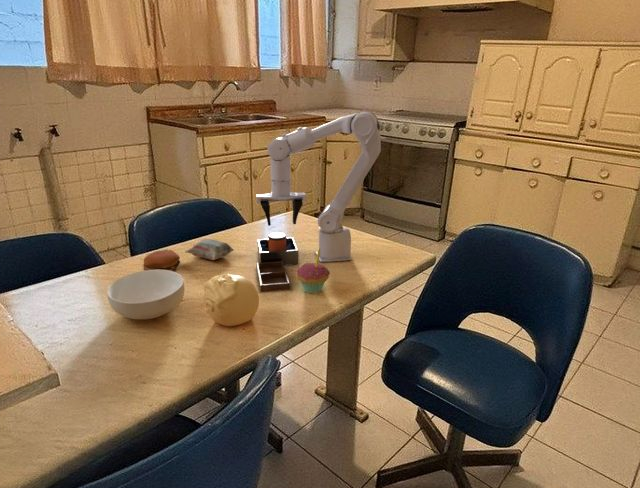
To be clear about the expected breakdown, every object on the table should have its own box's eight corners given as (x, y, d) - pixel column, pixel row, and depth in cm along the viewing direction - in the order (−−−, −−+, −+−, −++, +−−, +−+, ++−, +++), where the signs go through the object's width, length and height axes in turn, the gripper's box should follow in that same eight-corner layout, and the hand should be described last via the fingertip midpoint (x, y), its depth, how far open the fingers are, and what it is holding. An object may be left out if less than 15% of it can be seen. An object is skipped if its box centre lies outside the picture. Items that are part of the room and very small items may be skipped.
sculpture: (199, 314, 106) (195, 272, 102) (248, 302, 111) (246, 261, 107) (215, 337, 97) (211, 292, 92) (267, 323, 102) (265, 280, 98)
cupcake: (334, 286, 120) (335, 243, 116) (320, 299, 113) (320, 255, 108) (305, 280, 123) (305, 238, 119) (290, 292, 116) (289, 249, 112)
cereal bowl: (111, 301, 111) (106, 275, 108) (182, 290, 117) (179, 265, 114) (111, 336, 96) (105, 307, 94) (191, 321, 102) (188, 293, 100)
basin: (293, 250, 143) (292, 237, 141) (298, 264, 133) (298, 250, 131) (258, 253, 141) (257, 239, 139) (260, 267, 131) (260, 252, 129)
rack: (282, 267, 131) (282, 261, 130) (289, 289, 118) (289, 283, 117) (256, 269, 130) (256, 263, 129) (260, 292, 116) (260, 285, 116)
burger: (141, 276, 124) (138, 260, 122) (148, 263, 133) (146, 248, 131) (178, 274, 126) (176, 259, 124) (183, 261, 134) (181, 246, 132)
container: (285, 253, 140) (284, 231, 137) (287, 259, 135) (287, 237, 132) (268, 254, 139) (267, 232, 136) (269, 260, 134) (269, 238, 131)
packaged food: (214, 266, 131) (213, 250, 129) (185, 257, 137) (183, 242, 135) (234, 256, 138) (234, 241, 136) (206, 249, 144) (204, 234, 142)
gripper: (256, 183, 128) (258, 229, 133) (307, 182, 131) (307, 226, 136) (255, 178, 134) (257, 222, 139) (303, 176, 137) (303, 219, 142)
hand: (281, 223), depth 138 cm, fingers open, 7 cm apart
